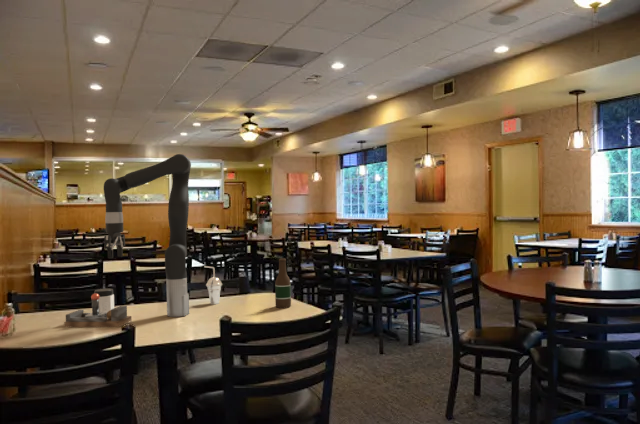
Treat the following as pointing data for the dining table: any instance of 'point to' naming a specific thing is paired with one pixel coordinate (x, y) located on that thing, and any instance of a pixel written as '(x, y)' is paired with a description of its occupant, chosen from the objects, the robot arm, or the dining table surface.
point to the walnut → (109, 314)
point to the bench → (98, 319)
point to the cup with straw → (214, 288)
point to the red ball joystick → (96, 307)
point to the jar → (105, 299)
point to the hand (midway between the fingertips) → (115, 257)
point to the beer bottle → (282, 286)
